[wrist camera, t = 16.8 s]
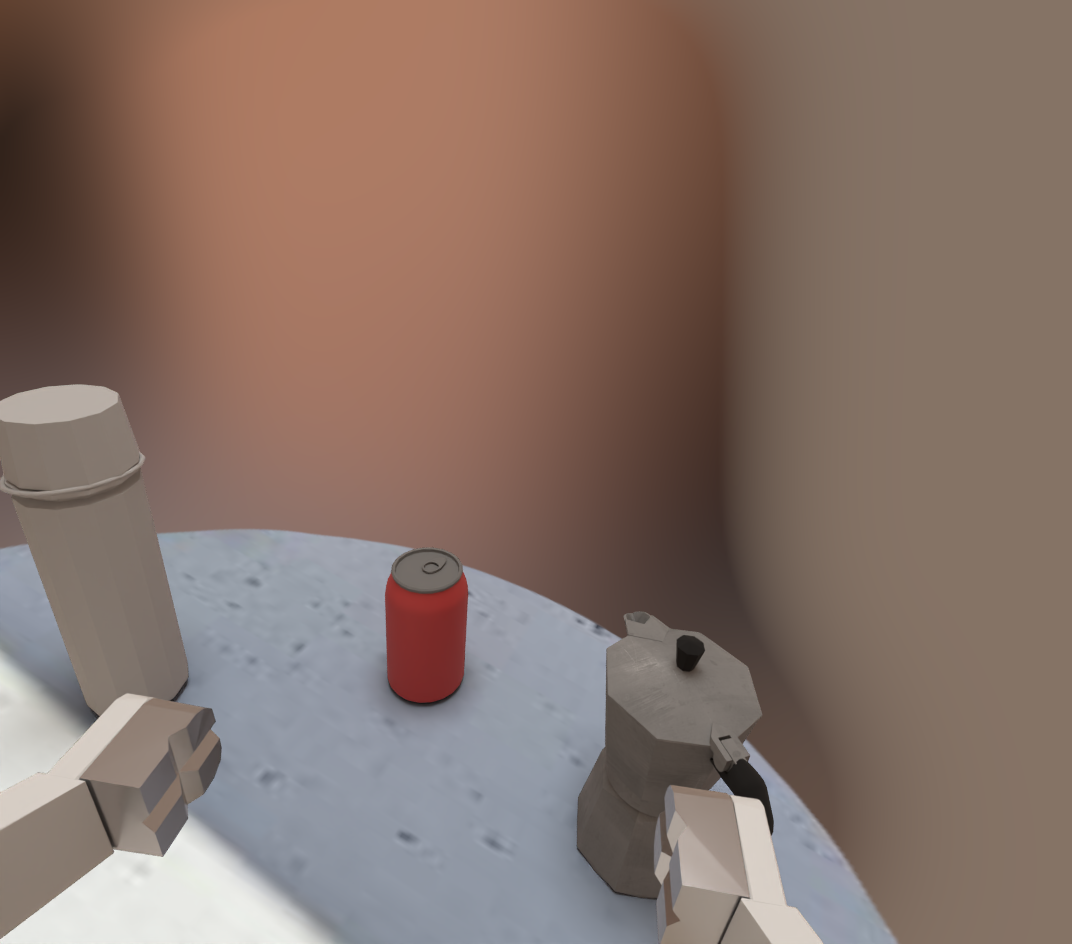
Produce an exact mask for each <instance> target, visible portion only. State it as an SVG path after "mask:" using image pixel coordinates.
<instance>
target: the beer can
mask: <svg viewBox="0 0 1072 944" xmlns="http://www.w3.org/2000/svg"><path fill="white" fill-rule="evenodd" d="M467 604H468V585H467V581H466V578H465V575H464V573H463V567H462V563H461V562H460V560H459V558H457V557H456V556H455V555H454V554H452V553H450V552H448V551H445V550H443V549H437V548H419V549H413V550H411V551H408V552H406V553H404V554H402V555H401V556H400V557H398V558H397V559H396V560H395V562H394V563H393V565H392V570H391V574H390V576H389V578H388V581H387V585H386V592H385V607H386V641H387V674H388V680H389V683H390V686H391V687H392V689H393V690H394V691H395V692H396V693H397V694H398V695H399V696H401V697H403V698H404V699H406V700H409V701H413V702H418V703H429V702H434V701H437V700H441V699H443V698H445V697H447V696H448V695H450V694H452V693H453V692H454V691H455V690H456V688H457V687H458V686H459V685H460V683H461V681H462V678H463V676H464V662H465V642H466V623H467Z"/></svg>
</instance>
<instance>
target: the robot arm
mask: <svg viewBox="0 0 1072 944" xmlns="http://www.w3.org/2000/svg"><path fill="white" fill-rule="evenodd" d="M215 722H216V721H215V717H214V714H213V710H212V709H211V708H206V707H200V706H195V705H189V704H184V703H179V702H173V701H168V700H162V699H157V698H153V697H147V696H141V695H135V694H129V693H127V694H125V695H123V696H121V697H120V698H118V699H116V700H115V701H114V702H113V703H112V704H111V705H110V706H109V707H108V709H107V710H106V711H105V712H104V713H103V714H102V715H101V716H100V717H99V718H98V719H97V720H96V721H95V722H94V724H93V725H92V726H91V727H90V728H89V729H88V730H87V731H86V732H85V733H84V734H83V735H82V736H81V738H80V739H79V740H78V741H77V742H76V743H75V744H74V745H73V746H72V747H71V748H70V749H69V750H68V751H67V753H66V754H65V755H64V756H63V757H62V758H61V759H60V760H59V761H58V762H57V763H56V764H55V765H54V767H53V768H52V769H51V770H50V771H49V772H48V773H47V774H46V773H39V772H38V773H37V774H35V775H33V776H31V777H29V778H27V779H25V780H23V781H21V782H19V783H18V784H16V785H14V786H12V787H10V788H8V789H6V790H4V791H2V792H0V939H1V938H2V937H4V936H5V935H6V934H8V933H9V932H10V931H12V930H13V929H14V928H16V927H17V926H18V925H19V924H21V923H22V922H23V921H25V920H26V919H27V918H29V917H30V916H31V915H33V914H34V913H35V912H37V911H38V910H39V909H41V908H42V907H43V906H44V905H46V904H47V903H48V902H50V901H51V900H52V899H54V898H55V897H56V896H58V895H59V894H60V893H62V892H63V891H64V890H66V889H67V888H68V887H70V886H71V885H72V884H73V883H75V882H76V881H77V880H79V879H80V878H81V877H83V876H84V875H85V874H87V873H88V872H89V871H91V870H92V869H93V868H95V867H96V866H97V865H98V864H100V863H101V862H102V861H104V860H105V859H106V858H108V857H109V856H110V855H112V854H113V853H114V850H121V851H128V852H134V853H141V854H147V855H154V856H160V857H163V856H164V855H165V853H166V852H167V850H168V848H169V847H170V845H171V844H172V842H173V841H174V839H175V838H176V836H177V835H178V833H179V832H180V830H181V829H182V827H183V826H184V824H185V823H186V821H187V819H188V804H189V803H191V802H192V801H194V800H195V799H197V798H198V797H200V796H202V795H203V794H204V793H205V792H206V790H207V788H208V787H209V785H210V784H211V782H212V780H213V779H214V777H215V774H216V771H217V769H218V766H219V763H220V760H221V749H222V747H221V743H220V738H219V737H218V736H217V735H216V734H215V733H214V732H213V731H212V730H211V727H212V726H213V725H214V723H215ZM664 799H665V811H663V812H662V813H660V814H659V817H658V821H657V825H656V832H655V840H654V871H655V875H656V877H657V878H658V880H659V882H660V883H661V885H662V886H661V889H660V892H659V896H658V899H657V902H656V910H657V927H658V944H823V942H822V941H821V940H820V938H819V937H818V936H817V934H816V933H815V932H814V930H813V929H812V928H811V926H810V925H809V924H808V922H807V921H806V920H805V918H804V917H803V916H802V914H801V913H800V912H799V910H798V909H797V908H795V907H790V906H787V903H786V899H785V895H784V890H783V886H782V882H781V877H780V873H779V869H778V865H777V860H776V856H775V852H774V847H773V843H772V839H771V834H770V830H769V826H768V821H767V817H766V813H765V808H764V806H763V804H762V803H761V801H760V800H758V799H754V798H747V797H740V796H733V795H728V794H727V793H721V792H715V791H708V790H702V789H695V788H688V787H682V786H675V785H670V786H669V787H668V788H667V791H666V794H665V797H664ZM113 849H114V850H113Z"/></svg>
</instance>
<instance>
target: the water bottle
mask: <svg viewBox="0 0 1072 944" xmlns="http://www.w3.org/2000/svg"><path fill="white" fill-rule="evenodd" d="M0 459H1V464H2V468H3V473H4V475H3V476H2V477H1V479H0V490H1V491H2V492H6V493H9V494H12V497H11V498H12V501H13V504H14V507H15V509H16V512H17V515H18V518H19V520H20V523H21V526H22V529H23V531H24V534H25V537H26V539H27V542H28V545H29V548H30V550H31V553H32V556H33V559H34V561H35V564H36V567H37V570H38V572H39V575H40V578H41V581H42V583H43V586H44V589H45V591H46V594H47V597H48V600H49V602H50V605H51V608H52V611H53V613H54V616H55V619H56V622H57V624H58V627H59V630H60V633H61V635H62V638H63V641H64V643H65V646H66V649H67V652H68V654H69V657H70V660H71V663H72V665H73V668H74V671H75V674H76V676H77V679H78V682H79V685H80V687H81V690H82V693H83V695H84V698H85V701H86V704H87V705H88V706H89V707H90V708H91V709H92V710H93V711H95V712H96V713H97V714H98V715H99V716H101V715H102V714H103V713H104V712H105V711H106V710H107V709H108V707H109V706H110V705H111V704H112V703H113V702H114V701H115V700H116V699H118V698H120V697H121V696H123V695H125V694H127V693H129V694H135V695H141V696H147V697H153V698H157V699H162V700H168V701H170V700H172V699H173V698H174V697H175V696H176V694H177V693H178V692H179V690H180V689H181V687H182V686H183V684H184V683H185V681H186V680H187V678H188V664H187V658H186V654H185V650H184V646H183V641H182V637H181V633H180V629H179V625H178V621H177V617H176V613H175V608H174V604H173V600H172V596H171V592H170V588H169V584H168V580H167V575H166V571H165V567H164V563H163V559H162V555H161V551H160V547H159V542H158V538H157V534H156V530H155V526H154V522H153V518H152V513H151V510H150V505H149V501H148V497H147V493H146V489H145V485H144V480H143V476H142V472H141V468H140V467H141V466H142V465H143V463H144V460H145V456H143V455H142V454H141V453H140V452H139V448H138V445H137V443H136V440H135V437H134V434H133V432H132V429H131V426H130V424H129V421H128V418H127V416H126V413H125V411H124V408H123V405H122V402H121V399H120V397H119V394H118V393H116V392H114V391H112V390H110V389H108V388H106V387H100V386H90V385H66V386H51V387H44V388H40V389H35V390H31V391H26V392H22V393H17V394H15V395H13V396H11V397H8V398H6V399H4V400H2V401H0Z"/></svg>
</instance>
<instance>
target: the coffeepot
mask: <svg viewBox="0 0 1072 944" xmlns="http://www.w3.org/2000/svg"><path fill="white" fill-rule="evenodd" d="M624 620H625V625H626V630H627V635H628V636H627V637H625V638H623V639H622V640H620V641H618V642H617V643H615V644H613V645H612V646H610V647H608V648H607V650H606V652H607V656H606V724H605V748H604V749H603V750H602V751H601V753H600V755H599V757H598V759H597V761H596V763H595V765H594V767H593V769H592V771H591V773H590V775H589V777H588V779H587V781H586V783H585V785H584V787H583V789H582V791H581V793H580V795H579V797H578V817H577V847H578V849H579V850H580V851H581V853H582V854H583V855H584V857H585V858H586V859H587V861H588V862H589V863H590V865H591V866H592V868H593V869H594V871H595V872H596V873H597V874H598V875H599V876H600V877H601V878H602V879H603V880H604V881H606V882H607V883H608V884H609V885H610V886H611V887H612V889H613V890H614V891H615V892H619V893H623V894H628V895H632V896H636V897H640V898H658V896H659V892H660V889H661V886H662V885H661V883H660V882H659V880H658V878H657V877H656V875H655V871H654V840H655V832H656V825H657V821H658V817H659V814H660V813H662V812H663V811H665V799H664V797H665V794H666V791H667V788H668V787H669V786H670V785H675V786H682V787H688V788H695V789H702V790H709V789H710V788H711V787H712V786H713V785H714V784H715V783H716V782H717V781H718V780H719V779H720V777H721V778H722V779H723V781H724V782H725V783H726V784H727V786H728V787H729V788H730V790H731V791H732V792H733V794H734V795H735V796H740V797H747V798H754V799H758V800H760V801H761V803H762V804H763V806H764V808H765V813H766V817H767V821H768V826H769V830H770V834H771V835H772V833H773V825H774V821H773V815H772V810H771V805H770V801H769V796H768V791H767V787H766V785H765V782H764V780H763V779H762V778H761V776H760V775H759V774H758V772H757V771H756V770H755V769H754V768H753V767H752V766H751V765H750V764H749V763H748V760H749V757H750V755H749V753H748V752H747V750H746V749H745V747H744V746H743V742H744V741H745V739H746V738H747V736H748V735H749V733H750V732H751V730H752V729H753V727H754V726H755V724H756V723H757V721H758V720H759V719H760V718H761V717H762V712H761V709H760V705H759V702H758V699H757V695H756V693H755V689H754V685H753V682H752V679H751V675H750V672H749V669H748V667H747V666H746V665H745V664H743V663H742V662H740V661H739V660H738V659H736V658H735V657H733V656H732V655H730V654H729V653H728V652H726V651H725V650H724V649H722V648H721V647H719V646H718V645H717V644H715V643H714V642H712V641H711V640H709V639H708V638H707V637H705V636H704V635H703V634H701V633H699V632H691V631H683V630H675V629H670V628H669V627H667V626H666V625H665V624H663V623H662V622H661V621H659V620H658V619H656V618H655V617H654V616H650V615H649V614H647V613H646V612H634V613H631V614H629V613H627V614H625V615H624Z"/></svg>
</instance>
